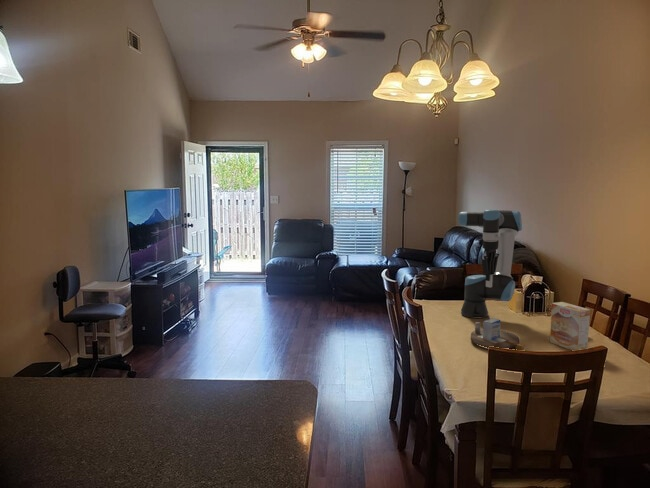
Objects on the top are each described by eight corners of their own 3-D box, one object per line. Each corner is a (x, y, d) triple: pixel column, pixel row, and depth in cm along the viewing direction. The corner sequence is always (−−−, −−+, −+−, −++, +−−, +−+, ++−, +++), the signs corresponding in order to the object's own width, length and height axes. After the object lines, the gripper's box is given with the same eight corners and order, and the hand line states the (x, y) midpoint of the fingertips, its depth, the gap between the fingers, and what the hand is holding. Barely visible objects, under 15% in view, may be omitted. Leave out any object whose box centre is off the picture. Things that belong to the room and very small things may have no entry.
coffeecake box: (549, 342, 217) (551, 303, 215) (559, 340, 220) (562, 301, 217) (577, 352, 204) (579, 311, 201) (588, 350, 206) (590, 309, 204)
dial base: (465, 342, 219) (465, 336, 219) (489, 334, 230) (489, 328, 229) (510, 357, 200) (510, 350, 199) (534, 347, 210) (534, 341, 210)
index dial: (496, 352, 202) (497, 337, 201) (460, 337, 221) (461, 323, 220) (529, 343, 212) (530, 328, 211) (492, 330, 231) (493, 317, 230)
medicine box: (490, 341, 209) (491, 323, 208) (482, 338, 213) (483, 320, 212) (500, 337, 214) (500, 319, 213) (491, 335, 218) (492, 317, 216)
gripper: (489, 242, 218) (488, 290, 221) (504, 240, 226) (502, 286, 229) (476, 241, 224) (474, 287, 227) (491, 238, 232) (489, 283, 235)
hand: (488, 286), depth 228 cm, fingers closed
